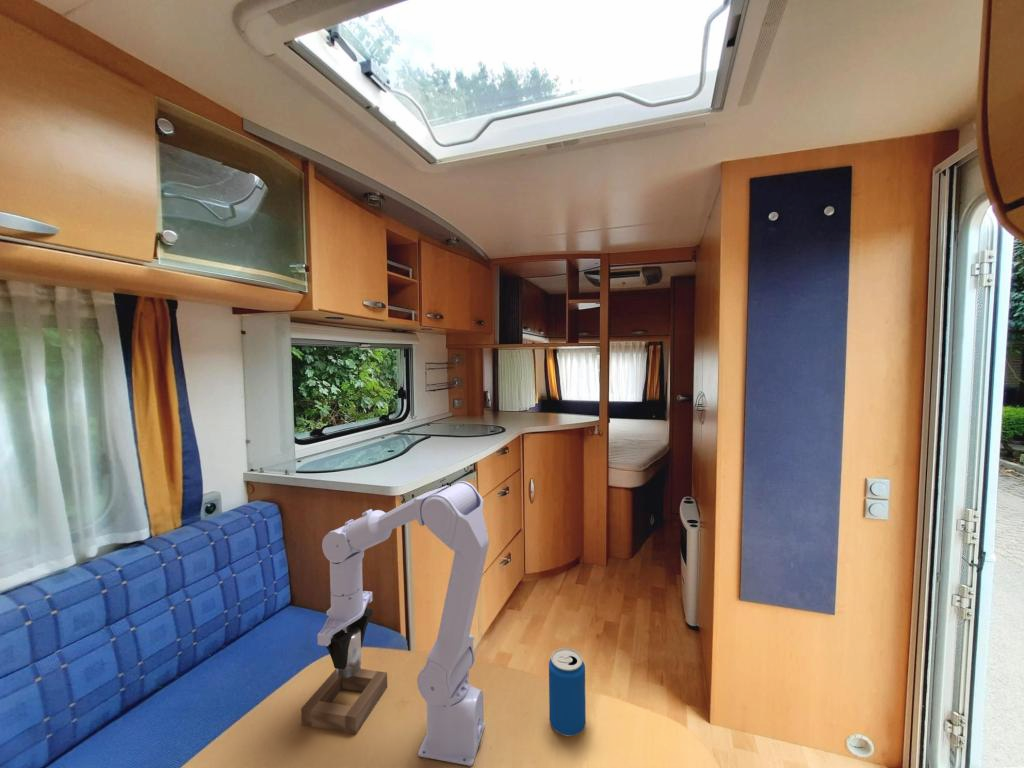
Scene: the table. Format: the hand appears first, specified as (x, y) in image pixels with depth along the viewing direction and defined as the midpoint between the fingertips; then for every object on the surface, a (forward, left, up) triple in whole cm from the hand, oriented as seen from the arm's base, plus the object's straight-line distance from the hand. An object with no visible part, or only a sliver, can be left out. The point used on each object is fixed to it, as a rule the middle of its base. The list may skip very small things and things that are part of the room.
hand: (348, 658), depth 77 cm
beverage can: (-42, -3, -9) cm, 43 cm away
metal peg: (0, 0, -2) cm, 2 cm away
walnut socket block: (0, 0, -9) cm, 9 cm away
